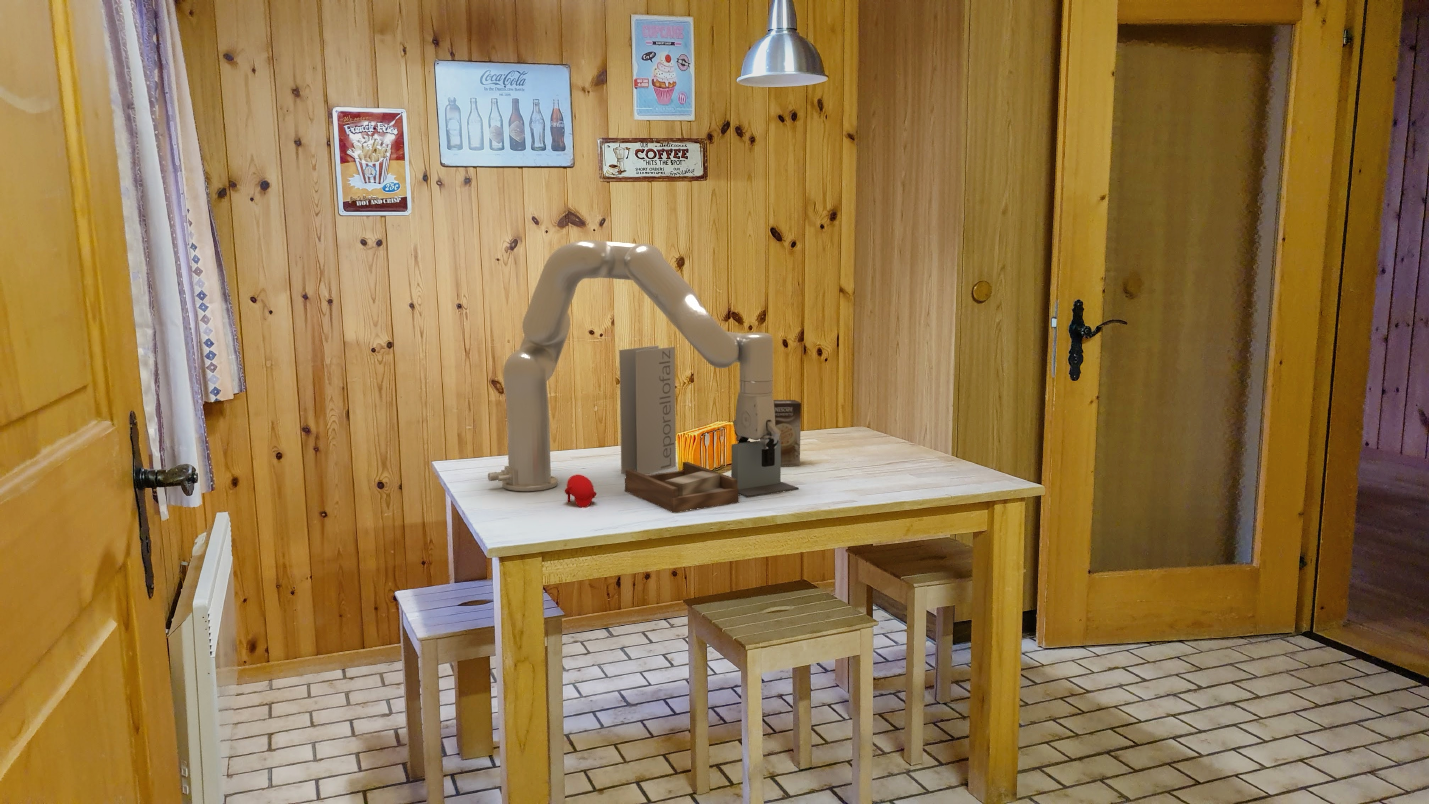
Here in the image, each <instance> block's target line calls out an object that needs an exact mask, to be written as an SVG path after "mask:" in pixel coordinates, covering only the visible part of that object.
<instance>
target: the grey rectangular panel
mask: <svg viewBox="0 0 1429 804" xmlns="http://www.w3.org/2000/svg"><path fill="white" fill-rule="evenodd" d="M768 441H769V440H766V442H768ZM730 447H731V452H730V453H731V454H730V455H731V458H730V459H731V460H730V461H731V464H730V465H731V469H730V470H731V471H730V473H731V474H730V477H732V478H735V479H737V488H738V489H739V490H740V489H746V488H752V487H759V486H765V485H771V484H777V483H781V482H782V481H781V480H782V479H781V474H782V472H781V467H782V466H781V440H778V443H777V445H776V448H775V465H774V466H768V467H762V449H764V448H763V445H762V443H761V441H760V440H753V441H750V442H745V443H738V442H737V443H732V444H731V446H730Z"/></svg>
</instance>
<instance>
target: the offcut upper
mask: <svg viewBox="0 0 1429 804" xmlns="http://www.w3.org/2000/svg"><path fill="white" fill-rule="evenodd" d="M665 483H666V484H669V485H671V486H674V487H676V488H678V496H684V495H691V494H697V493H703V492H706V491H710V490H713V489H717V488H720V474H716V473H711V472H705V471H700V472H696V473H693V474H689V475H685V476H681V477H677V478H673V479H669V480H665Z"/></svg>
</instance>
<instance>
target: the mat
mask: <svg viewBox="0 0 1429 804" xmlns="http://www.w3.org/2000/svg"><path fill="white" fill-rule="evenodd" d="M790 490H791V491H796V490H799V486H795V485H792V484H789V483H786V482H782V481H781V483H777V484H771V485H765V486H759V487H752V488H746V489H740V490H739V496H743V497H745V498H751V497H752V498H753V497H759V495H760V496H765V495H771V493H772V494H777V492H779V493H783V491H785V492H789V491H790ZM791 491H790V492H791Z"/></svg>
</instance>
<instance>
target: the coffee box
mask: <svg viewBox="0 0 1429 804" xmlns="http://www.w3.org/2000/svg"><path fill="white" fill-rule="evenodd" d="M773 401H774V410H775V426H776V427H777V429H778V430H779V431H780V436H779V439H778V440H781V467H800V466H801V428H802V427H801V425H802V424H801V423H802V403H801V401H799V400H796V399H773Z"/></svg>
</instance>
